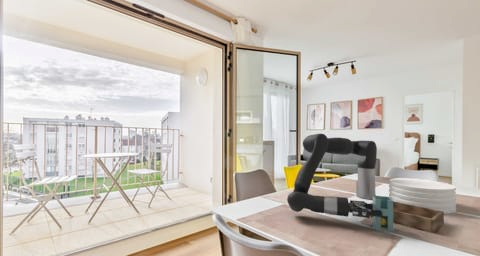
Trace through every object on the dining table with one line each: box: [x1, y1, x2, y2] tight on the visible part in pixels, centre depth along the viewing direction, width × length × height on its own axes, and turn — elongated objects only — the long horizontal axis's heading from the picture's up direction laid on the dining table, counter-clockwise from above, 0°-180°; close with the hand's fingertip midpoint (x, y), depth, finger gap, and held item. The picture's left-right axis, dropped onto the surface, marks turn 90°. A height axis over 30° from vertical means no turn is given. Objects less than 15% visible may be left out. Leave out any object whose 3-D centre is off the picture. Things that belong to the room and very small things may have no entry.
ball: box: [381, 218, 387, 226], centre depth 94 cm, size 3×3×3 cm
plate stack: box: [388, 177, 457, 214], centre depth 125 cm, size 28×28×12 cm
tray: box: [367, 201, 445, 234], centre depth 103 cm, size 24×16×5 cm, turn 39°
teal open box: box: [372, 195, 394, 234], centre depth 93 cm, size 6×6×12 cm
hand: (379, 210), depth 94 cm, fingers open, 8 cm apart
